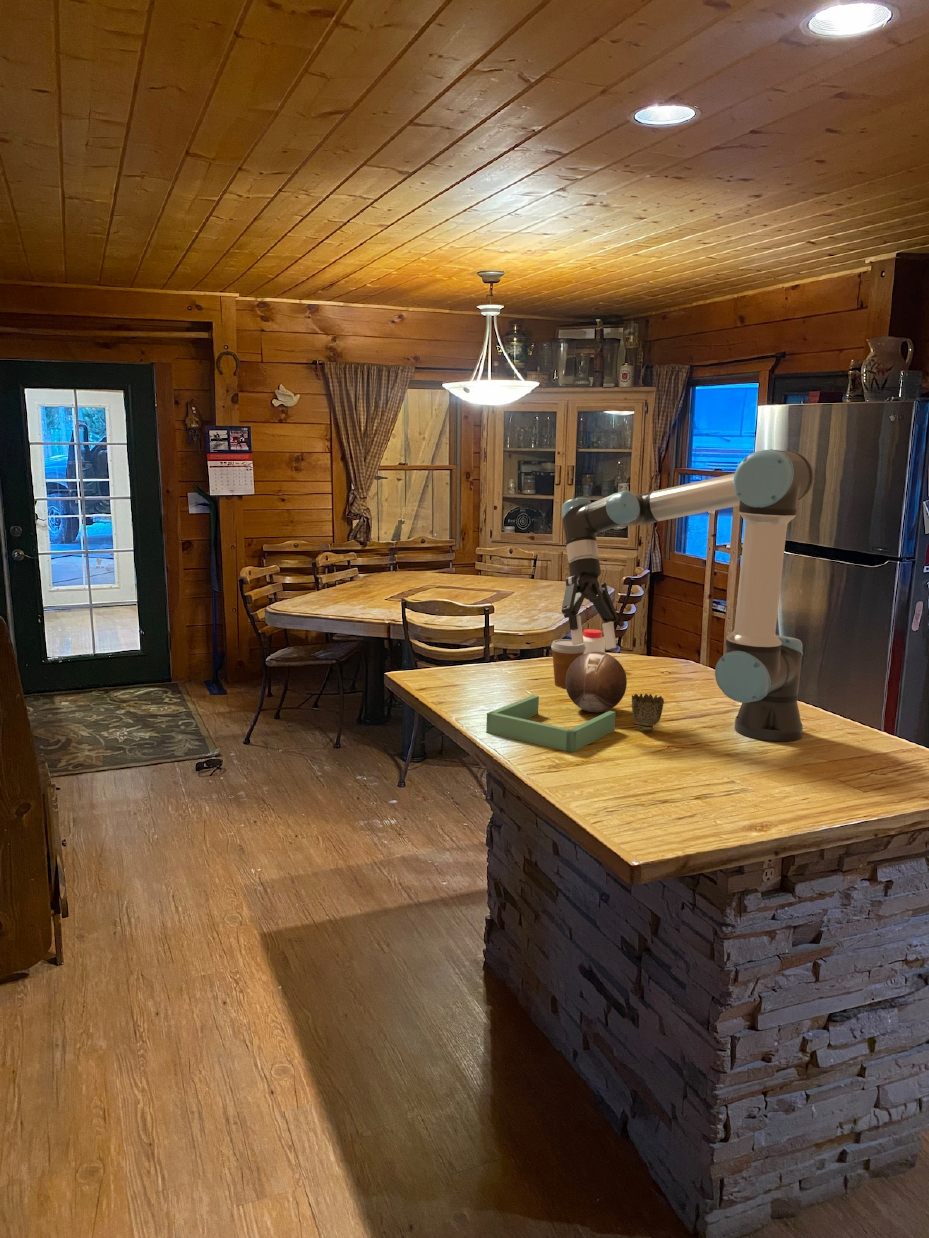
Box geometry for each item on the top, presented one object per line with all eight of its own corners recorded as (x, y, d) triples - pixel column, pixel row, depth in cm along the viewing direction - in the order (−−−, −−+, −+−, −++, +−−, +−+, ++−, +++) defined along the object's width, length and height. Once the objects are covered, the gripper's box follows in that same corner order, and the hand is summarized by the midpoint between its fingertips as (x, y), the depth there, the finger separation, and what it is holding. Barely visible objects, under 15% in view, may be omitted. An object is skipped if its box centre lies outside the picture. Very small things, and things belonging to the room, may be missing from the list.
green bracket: (532, 712, 225) (533, 695, 224) (614, 730, 212) (615, 711, 211) (486, 732, 208) (486, 713, 207) (572, 752, 196) (573, 732, 195)
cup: (661, 736, 209) (664, 702, 207) (629, 733, 210) (631, 700, 209) (661, 727, 216) (664, 694, 214) (629, 724, 217) (632, 691, 216)
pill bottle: (607, 666, 276) (609, 630, 275) (597, 671, 270) (599, 634, 268) (584, 662, 280) (586, 627, 279) (573, 667, 274) (575, 631, 272)
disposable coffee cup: (543, 681, 256) (545, 639, 253) (575, 680, 258) (577, 638, 256) (557, 690, 247) (559, 646, 245) (589, 688, 250) (591, 645, 247)
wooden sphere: (564, 718, 221) (567, 657, 218) (563, 701, 236) (566, 644, 233) (627, 721, 220) (631, 660, 217) (622, 704, 235) (625, 647, 232)
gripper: (600, 572, 235) (611, 653, 230) (539, 557, 217) (550, 645, 212) (624, 565, 230) (636, 647, 225) (565, 548, 212) (576, 638, 207)
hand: (595, 646), depth 218 cm, fingers open, 13 cm apart
